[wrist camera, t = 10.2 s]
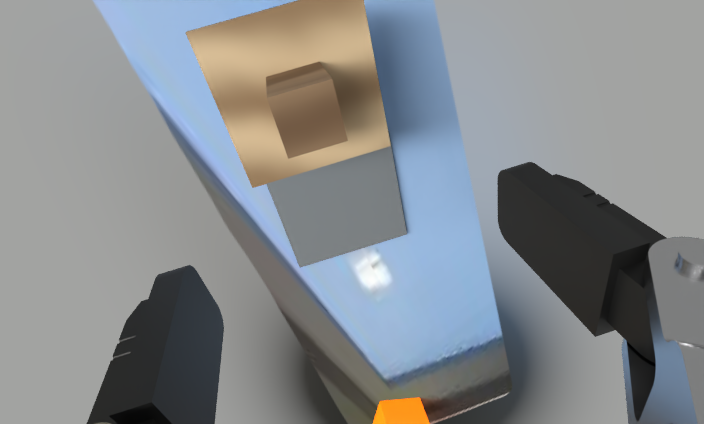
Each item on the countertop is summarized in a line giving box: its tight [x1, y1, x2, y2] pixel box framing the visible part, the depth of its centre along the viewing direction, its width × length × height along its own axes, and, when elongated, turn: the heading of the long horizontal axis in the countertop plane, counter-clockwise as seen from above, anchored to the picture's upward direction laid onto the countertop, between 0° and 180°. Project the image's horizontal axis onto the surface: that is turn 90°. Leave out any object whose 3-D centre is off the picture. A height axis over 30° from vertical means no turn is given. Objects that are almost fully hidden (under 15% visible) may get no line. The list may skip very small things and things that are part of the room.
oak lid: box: [186, 0, 391, 188], centre depth 26 cm, size 12×12×7 cm
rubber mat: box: [267, 131, 407, 267], centre depth 44 cm, size 14×14×1 cm
